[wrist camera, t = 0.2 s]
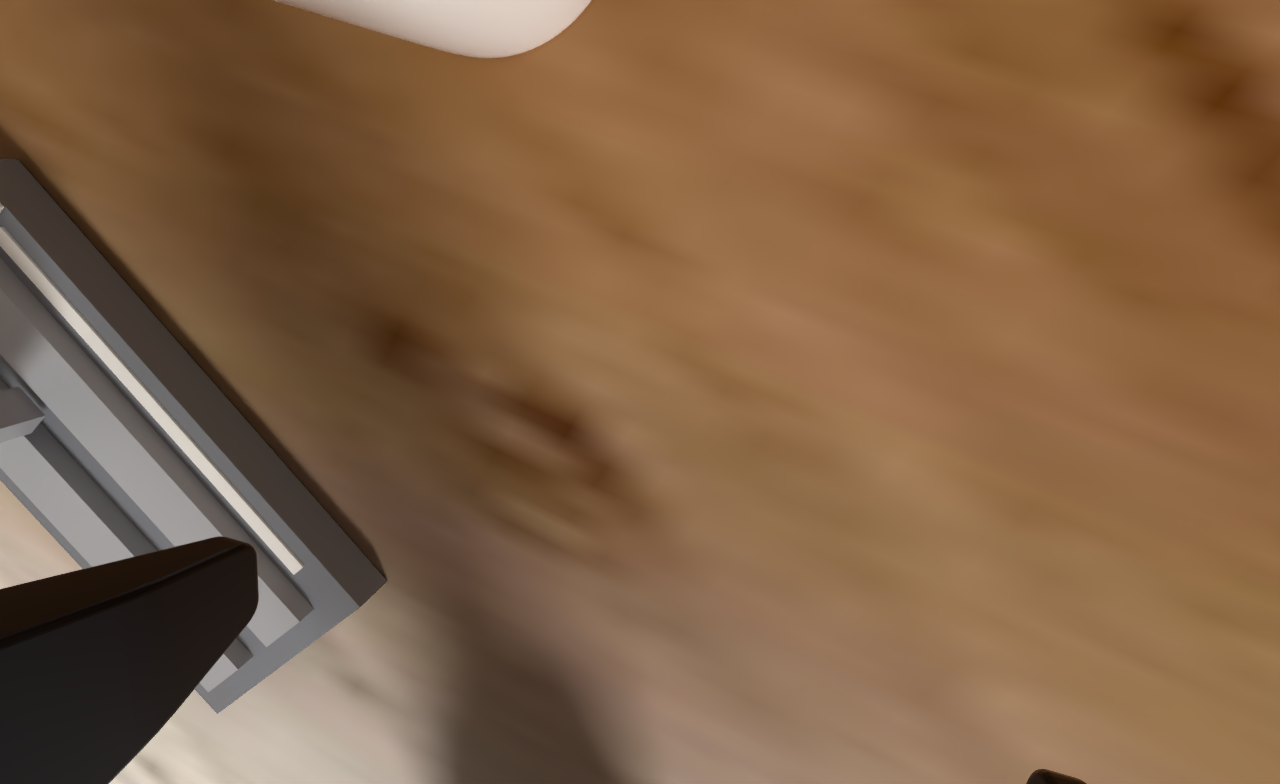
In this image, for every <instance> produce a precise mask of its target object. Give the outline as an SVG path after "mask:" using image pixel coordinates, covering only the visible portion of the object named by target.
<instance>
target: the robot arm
mask: <svg viewBox="0 0 1280 784" xmlns="http://www.w3.org/2000/svg"><path fill="white" fill-rule="evenodd" d="M258 602H259V591H258V568H257V553H256V551H255V549H254V547H253V546H252V545H250V544H249V543H246V542H243V541H239V540H236V539H232V538H229V537H223V536H218V537H213V538H209V539H205V540H201V541H197V542H192V543H188V544H184V545H180V546H176V547H172V548H168V549H164V550H160V551H155V552H151V553H147V554H143V555H139V556H135V557H131V558H127V559H123V560H119V561H114V562H110V563H106V564H102V565H98V566H94V567H90V568H86V569H82V570H78V571H73V572H69V573H65V574H61V575H57V576H53V577H49V578H45V579H41V580H37V581H32V582H28V583H24V584H20V585H16V586H12V587H8V588H4V589H0V784H109V783H110V782H111V781H112V780H113V779H114V778H115V777H116V776H117V775H118V774H119V773H120V772H121V771H122V770H123V768H124V767H125V766H126V765H127V764H128V763H129V762H130V761H131V760H132V759H133V758H134V757H135V756H136V755H137V754H138V753H139V752H140V751H141V750H142V749H143V748H144V747H145V746H146V745H147V743H148V742H149V741H150V740H151V739H152V738H153V737H154V736H155V735H156V734H157V733H158V732H159V730H160V729H161V728H162V727H163V726H164V725H165V723H166V722H167V721H168V720H169V719H170V718H171V717H172V715H173V714H174V713H175V712H176V711H177V709H178V708H179V707H180V706H181V705H182V703H183V702H184V701H185V700H186V699H187V697H188V696H189V695H190V694H191V692H192V691H193V690H194V689H195V688H196V686H197V685H198V684H199V683H200V682H201V680H202V679H203V678H204V677H205V675H206V674H207V673H208V672H209V671H210V669H211V668H212V667H213V666H214V665H215V663H216V662H217V661H218V660H219V658H220V657H221V656H222V655H223V654H224V652H225V651H226V650H227V649H228V648H229V646H230V645H231V644H232V643H233V641H234V640H235V639H236V638H237V637H238V635H239V634H240V633H241V632H242V631H243V629H244V628H245V627H246V626H247V624H248V623H249V622H250V620H251V619H252V617H253V616H254V614H255V611H256V609H257V606H258ZM1026 784H1086V783H1085V782H1083V781H1082V780H1080V779H1077V778H1074V777H1071V776H1067V775H1064V774H1060V773H1057V772H1053V771H1050V770H1046V769H1038V770H1036V771H1034V772H1033V773H1032V774H1031V776H1030V777H1029V779H1028V781H1027V783H1026Z"/></svg>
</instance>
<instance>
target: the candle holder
mask: <svg viewBox="0 0 1280 784" xmlns="http://www.w3.org/2000/svg"><path fill="white" fill-rule="evenodd" d="M272 1H275V2H278V3H282V4H285V5H288V6H292V7H295V8H298V9H302V10H305V11H308V12H312V13H315V14H318V15H322V16H325V17H328V18H332V19H335V20H338V21H342V22H345V23H348V24H352V25H355V26H358V27H362V28H365V29H368V30H372V31H375V32H378V33H382V34H385V35H388V36H392V37H395V38H399V39H402V40H405V41H409V42H412V43H416V44H419V45H423V46H426V47H430V48H433V49H437V50H441V51H444V52H448V53H452V54H457V55H462V56H467V57H475V58H500V57H508V56H513V55H517V54H520V53H524V52H527V51H529V50H532V49H534V48H536V47H538V46H540V45H542V44H544V43H546V42H548V41H549V40H551V39H553V38H554V37H555V36H557V35H558V34H560V33H561V32H562V31H563V30H565V29H566V28H567V27H568V26H569V25H570V24H571V23H573V22H574V21H575V20H576V19H577V17H578V16H579V15H580V14H581V13H582V12H583V11H584V10H585V8H586V7H587V6H588V4H589V3H590V2H591V0H272Z"/></svg>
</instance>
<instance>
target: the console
mask: <svg viewBox="0 0 1280 784" xmlns="http://www.w3.org/2000/svg"><path fill="white" fill-rule="evenodd" d="M18 386H19V387H20V388H21V389H22V390H23V391H24V392H25V394H26V395H27V396H28V397H29V398H30V399H31V400H32V401H33V402H34V403H35V405H36V406H37V407H38V408H39V409H40V410H41V411H42V412H43V413H44V414H45V415H46V416H45V417H44V418H43V420H42V421H41V422H40V423H39V424H38V426H37V427H36V428H35V429H34V431H33V432H32V433H31V434H27V435H24V436H21V437H18V438H15V439H11V440H8V441H5V442H2V443H0V480H1V481H2V482H3V483H4V485H5V486H6V487H7V488H8V489H9V490H10V491H11V492H12V493H13V494H14V495H15V496H16V497H17V499H18V500H19V501H20V502H21V503H22V504H23V505H24V506H25V507H26V508H27V509H28V510H29V511H30V513H31V514H32V515H33V516H34V517H35V518H36V519H37V520H38V521H39V522H40V523H41V524H42V525H43V527H44V528H45V529H46V530H47V531H48V532H49V533H50V534H51V535H52V536H53V537H54V538H55V539H56V541H57V542H58V543H59V544H60V545H61V546H62V547H63V548H64V549H65V550H66V551H67V552H68V553H69V555H70V556H71V557H72V558H73V559H74V560H75V561H76V562H77V563H78V564H79V565H80V566H81V567H82V569H86V568H90V567H94V566H98V565H102V564H106V563H110V562H114V561H119V560H123V559H127V558H131V557H135V556H139V555H143V554H147V553H151V552H155V551H160V550H164V549H168V548H172V547H176V546H180V545H184V544H188V543H192V542H197V541H201V540H205V539H209V538H213V537H218V536H223V537H229V538H232V539H236V540H239V541H243V542H246V543H249V544H250V545H252V546H253V547H254V549H255V551H256V553H257V568H258V591H259V602H258V606H257V609H256V611H255V614H254V616H253V617H252V619H251V620H250V622H249V623H248V624H247V626H246V627H245V628H244V629H243V631H242V632H241V633H240V634H239V635H238V637H237V638H236V639H235V640H234V641H233V643H232V644H231V645H230V646H229V648H228V649H227V650H226V651H225V652H224V654H223V655H222V656H221V657H220V658H219V660H218V661H217V662H216V663H215V665H214V666H213V667H212V668H211V669H210V671H209V672H208V673H207V674H206V675H205V677H204V678H203V679H202V680H201V682H200V683H199V684H198V685H197V686H196V688H195V690H196V691H197V692H198V693H199V695H200V696H201V697H202V698H203V699H204V700H205V701H206V702H207V703H208V704H209V705H210V706H211V707H212V709H213V710H214V711H215V712H216V713H217V714H218V713H219V712H221V711H222V710H223V709H225V708H226V707H227V706H229V705H230V704H231V703H233V702H234V701H235V700H237V699H238V698H239V697H241V696H242V695H243V694H245V693H246V692H247V691H249V690H250V689H251V688H253V687H254V686H255V685H257V684H258V683H259V682H261V681H262V680H263V679H265V678H266V677H267V676H269V675H270V674H271V673H273V672H274V671H275V670H277V669H278V668H279V667H281V666H282V665H283V664H285V663H286V662H287V661H289V660H290V659H291V658H293V657H294V656H295V655H297V654H298V653H299V652H301V651H302V650H303V649H305V648H306V647H307V646H309V645H310V644H311V643H313V642H314V641H315V640H317V639H318V638H319V637H321V636H322V635H323V634H325V633H326V632H327V631H329V630H330V629H331V628H333V627H334V626H335V625H337V624H338V623H339V622H341V621H342V620H343V619H345V618H346V617H347V616H349V615H350V614H351V613H353V612H354V611H355V610H357V609H358V608H359V607H361V606H362V605H363V604H364V603H365V602H366V601H367V600H368V599H369V598H370V597H371V596H372V595H373V594H374V593H375V592H376V591H377V590H378V589H379V588H381V587H382V586H383V585H384V584H385V583H386V582H387V580H386V579H385V578H384V577H383V576H382V575H381V573H380V572H379V571H378V570H377V569H376V568H375V567H374V565H373V564H372V563H371V562H370V561H369V560H368V559H367V557H366V556H365V555H364V554H363V553H362V552H361V551H360V549H359V548H358V547H357V546H356V545H355V544H354V543H353V541H352V540H351V539H350V538H349V537H348V536H347V535H346V533H345V532H344V531H343V530H342V529H341V528H340V527H339V525H338V524H337V523H336V522H335V521H334V520H333V519H332V517H331V516H330V515H329V514H328V513H327V512H326V511H325V509H324V508H323V507H322V506H321V505H320V504H319V503H318V501H317V500H316V499H315V498H314V497H313V496H312V495H311V493H310V492H309V491H308V490H307V489H306V488H305V487H304V485H303V484H302V483H301V482H300V481H299V480H298V479H297V477H296V476H295V475H294V474H293V473H292V472H291V471H290V469H289V468H288V467H287V466H286V465H285V464H284V463H283V461H282V460H281V459H280V458H279V457H278V456H277V455H276V454H275V452H274V451H273V450H272V449H271V448H270V447H269V446H268V444H267V443H266V442H265V441H264V440H263V439H262V438H261V436H260V435H259V434H258V433H257V432H256V431H255V430H254V428H253V427H252V426H251V425H250V424H249V423H248V422H247V420H246V419H245V418H244V417H243V416H242V415H241V414H240V412H239V411H238V410H237V409H236V408H235V407H234V406H233V404H232V403H231V402H230V401H229V400H228V399H227V398H226V396H225V395H224V394H223V393H222V392H221V391H220V390H219V388H218V387H217V386H216V385H215V384H214V383H213V382H212V380H211V379H210V378H209V377H208V376H207V375H206V374H205V372H204V371H203V370H202V369H201V368H200V367H199V366H198V364H197V363H196V362H195V361H194V360H193V359H192V358H191V356H190V355H189V354H188V353H187V352H186V351H185V350H184V348H183V347H182V346H181V345H180V344H179V343H178V342H177V340H176V339H175V338H174V337H173V336H172V335H171V334H170V332H169V331H168V330H167V329H166V328H165V327H164V326H163V324H162V323H161V322H160V321H159V320H158V319H157V318H156V316H155V315H154V314H153V313H152V312H151V311H150V310H149V309H148V307H147V306H146V305H145V304H144V303H143V302H142V301H141V299H140V298H139V297H138V296H137V295H136V294H135V293H134V291H133V290H132V289H131V288H130V287H129V286H128V285H127V283H126V282H125V281H124V280H123V279H122V278H121V277H120V275H119V274H118V273H117V272H116V271H115V270H114V269H113V267H112V266H111V265H110V264H109V263H108V262H107V261H106V259H105V258H104V257H103V256H102V255H101V254H100V253H99V251H98V250H97V249H96V248H95V247H94V246H93V245H92V243H91V242H90V241H89V240H88V239H87V238H86V237H85V235H84V234H83V233H82V232H81V231H80V230H79V229H78V227H77V226H76V225H75V224H74V223H73V222H72V221H71V219H70V218H69V217H68V216H67V215H66V214H65V213H64V211H63V210H62V209H61V208H60V207H59V206H58V205H57V203H56V202H55V201H54V200H53V199H52V198H51V197H50V195H49V194H48V193H47V192H46V191H45V190H44V189H43V187H42V186H41V185H40V184H39V183H38V182H37V181H36V179H35V178H34V177H33V176H32V175H31V174H30V173H29V171H28V170H27V169H26V168H25V167H24V166H23V165H22V163H21V162H20V161H19V160H18V159H2V158H0V391H1V390H6V389H10V388H14V387H18Z"/></svg>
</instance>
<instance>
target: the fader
mask: <svg viewBox="0 0 1280 784" xmlns="http://www.w3.org/2000/svg"><path fill="white" fill-rule="evenodd" d="M45 416H46V415H45V414H44V413H43V412H42V411H41V410H40V409H39V408H38V407H37V406H36V405H35V403H34V402H33V401H32V400H31V399H30V398H29V397H28V396H27V395H26V394H25V392H24V391H23V390H22V389H21V388H20V387H19V386H18V387H14V388H10V389H6V390H1V391H0V443H2V442H5V441H8V440H11V439H15V438H18V437H21V436H24V435H27V434H31V433H32V432H33V431H34V429H35V428H36V427H37V426H38V424H39V423H40V422H41V421H42V420H43V418H44V417H45Z"/></svg>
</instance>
